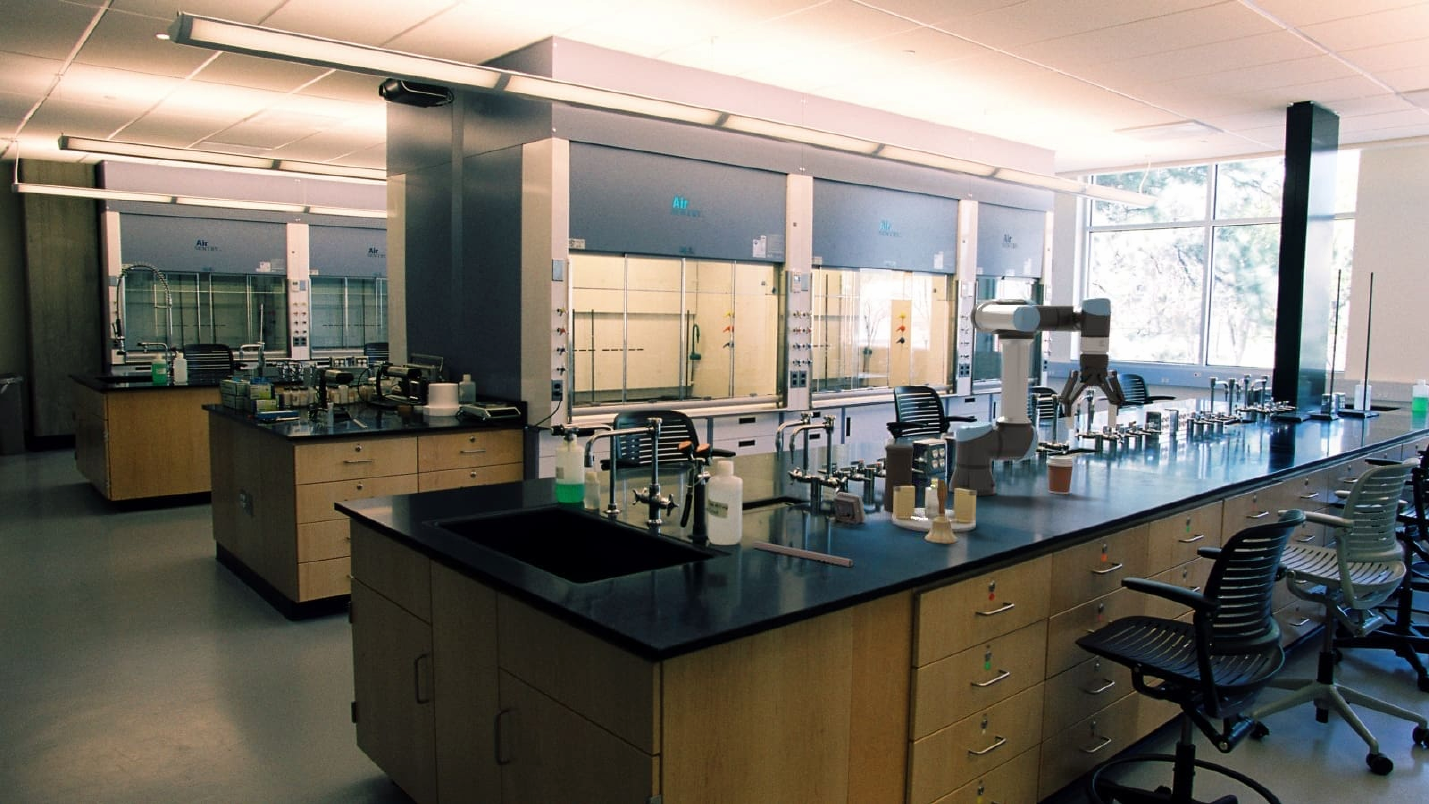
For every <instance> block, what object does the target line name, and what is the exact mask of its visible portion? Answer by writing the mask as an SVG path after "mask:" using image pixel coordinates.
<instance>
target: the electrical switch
mask: <svg viewBox="0 0 1429 804" xmlns="http://www.w3.org/2000/svg"><path fill="white" fill-rule="evenodd" d="M836 494H837V495H836V496H835V497H834V498H833V500H834V501H833V503H834V506H835V513H836V518H837V519H836V520H838V521H840V522H844V523H845V522H846V523H850V524H854V525H857V524H859V523H865V522H866V516H865V509H864V504H863V497H862V496H861V495H859V494H854V493H848V492H842V491H839V492H837V493H836Z"/></svg>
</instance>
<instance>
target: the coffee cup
mask: <svg viewBox="0 0 1429 804" xmlns="http://www.w3.org/2000/svg"><path fill="white" fill-rule="evenodd" d="M1045 464H1046V465H1047V470H1048V492H1049V493H1050V494H1055V495H1070V491H1071V490H1070V489H1071V483H1072V475H1073V467H1075V466H1076V463H1075V462H1074V461H1073V458H1072V457H1071V456H1066V455H1065V456H1064V455H1052V456H1049V459H1047V460H1046V461H1045Z"/></svg>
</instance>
